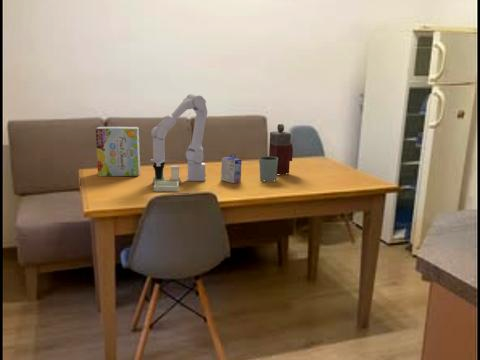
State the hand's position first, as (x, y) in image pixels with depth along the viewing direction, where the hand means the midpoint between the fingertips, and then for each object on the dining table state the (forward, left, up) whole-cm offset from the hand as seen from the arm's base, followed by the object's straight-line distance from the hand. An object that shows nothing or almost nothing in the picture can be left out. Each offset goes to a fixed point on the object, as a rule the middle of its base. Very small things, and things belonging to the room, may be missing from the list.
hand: (159, 177), depth 252 cm
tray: (-4, +10, -3) cm, 11 cm away
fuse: (-8, 0, -2) cm, 8 cm away
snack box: (+22, -20, -3) cm, 30 cm away
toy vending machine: (-67, -24, -3) cm, 71 cm away
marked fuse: (0, 0, -2) cm, 2 cm away
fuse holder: (-4, 0, -3) cm, 5 cm away
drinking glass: (-57, -8, -3) cm, 58 cm away
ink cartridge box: (-37, -5, -3) cm, 38 cm away
